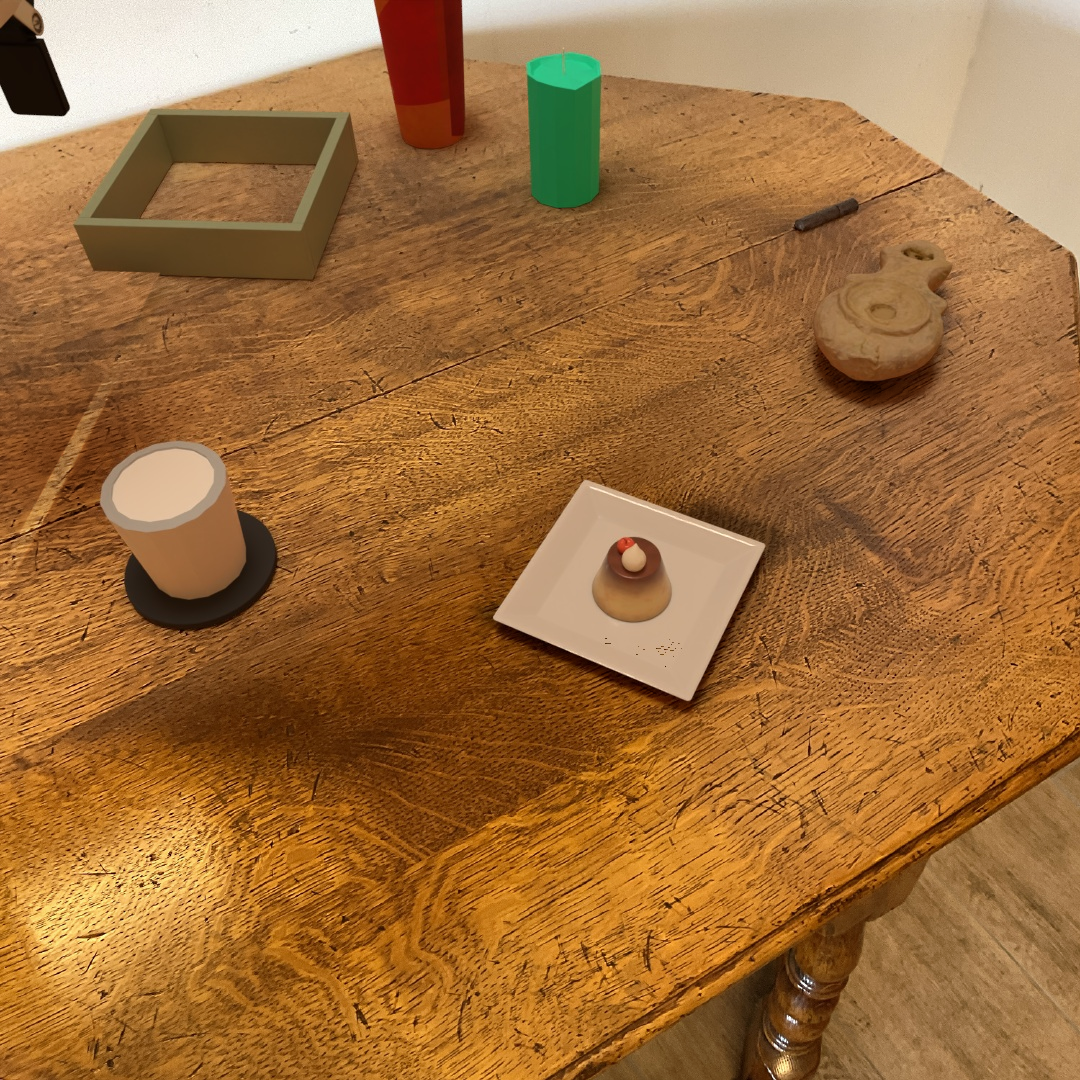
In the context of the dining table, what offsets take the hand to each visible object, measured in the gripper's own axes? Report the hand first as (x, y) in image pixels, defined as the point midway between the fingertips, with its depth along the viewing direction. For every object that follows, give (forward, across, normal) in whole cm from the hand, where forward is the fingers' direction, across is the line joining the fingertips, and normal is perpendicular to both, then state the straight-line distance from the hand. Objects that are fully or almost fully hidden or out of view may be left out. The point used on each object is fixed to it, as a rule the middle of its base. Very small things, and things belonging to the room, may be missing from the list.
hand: (4, 160), depth 52 cm
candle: (+20, -33, +27) cm, 47 cm away
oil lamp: (+20, -14, +51) cm, 57 cm away
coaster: (+20, +11, +8) cm, 24 cm away
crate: (+21, -27, -1) cm, 34 cm away
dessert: (+20, +10, +34) cm, 41 cm away
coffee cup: (+21, -42, +14) cm, 48 cm away
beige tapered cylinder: (+20, +10, +8) cm, 24 cm away
